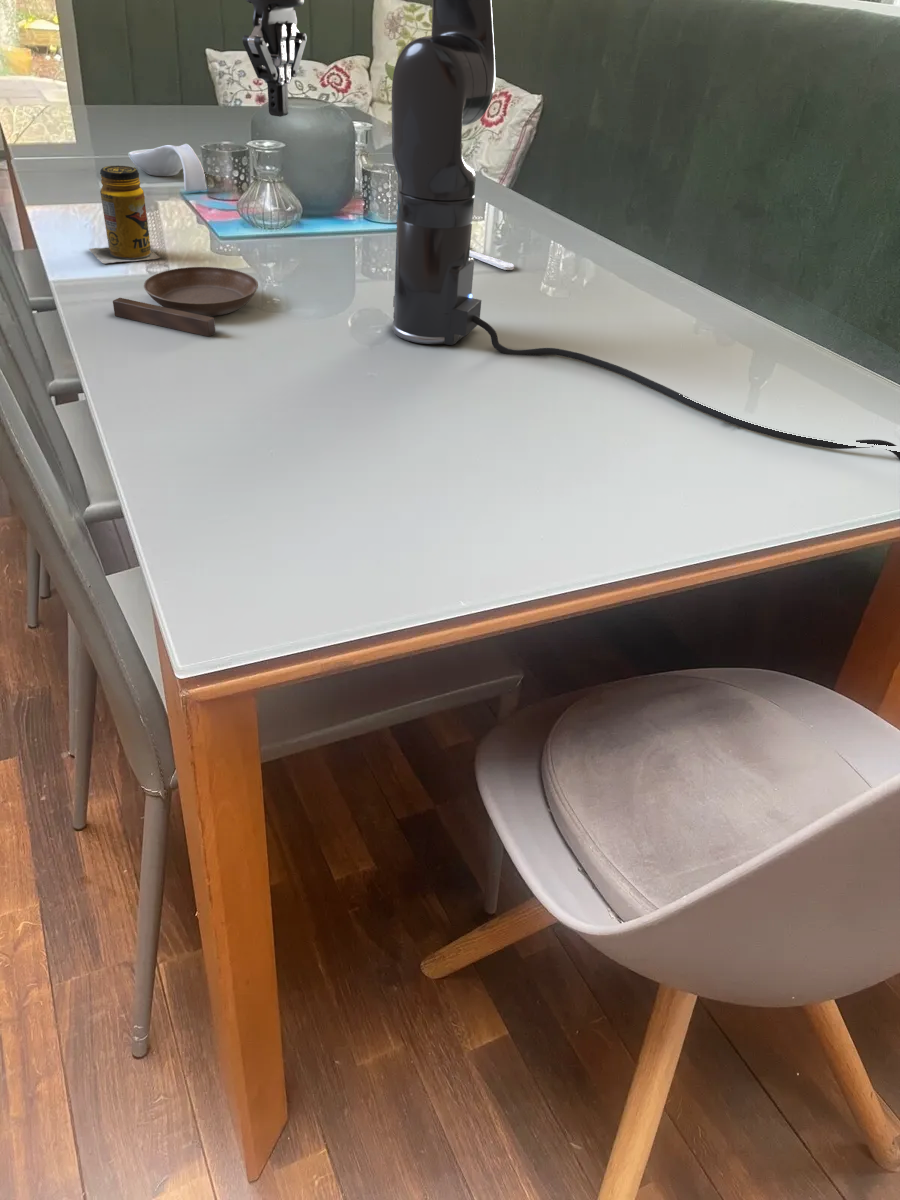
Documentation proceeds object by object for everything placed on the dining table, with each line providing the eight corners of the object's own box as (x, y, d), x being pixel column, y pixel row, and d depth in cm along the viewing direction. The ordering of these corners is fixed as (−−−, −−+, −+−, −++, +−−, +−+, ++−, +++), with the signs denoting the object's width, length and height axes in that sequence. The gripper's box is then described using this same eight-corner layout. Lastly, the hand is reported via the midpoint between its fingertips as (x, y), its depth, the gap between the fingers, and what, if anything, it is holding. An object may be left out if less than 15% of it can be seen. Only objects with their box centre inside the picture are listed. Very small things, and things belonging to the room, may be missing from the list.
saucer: (189, 331, 112) (187, 309, 110) (124, 299, 119) (121, 278, 118) (281, 307, 121) (281, 287, 120) (216, 279, 129) (214, 260, 127)
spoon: (500, 272, 141) (500, 268, 141) (423, 243, 151) (423, 240, 150) (523, 267, 144) (523, 263, 144) (446, 239, 154) (446, 236, 154)
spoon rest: (121, 168, 180) (116, 129, 176) (177, 165, 186) (173, 126, 182) (169, 195, 165) (165, 153, 161) (228, 190, 171) (225, 149, 167)
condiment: (160, 259, 134) (150, 172, 127) (103, 264, 130) (89, 175, 123) (144, 246, 139) (133, 162, 132) (89, 251, 135) (74, 164, 128)
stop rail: (215, 333, 112) (214, 317, 111) (209, 337, 111) (207, 321, 110) (122, 312, 115) (119, 297, 114) (114, 316, 114) (112, 300, 113)
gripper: (272, -40, 105) (278, 125, 115) (324, -39, 115) (326, 113, 125) (217, -45, 107) (228, 117, 117) (272, -44, 117) (278, 106, 127)
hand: (278, 115), depth 121 cm, fingers closed
